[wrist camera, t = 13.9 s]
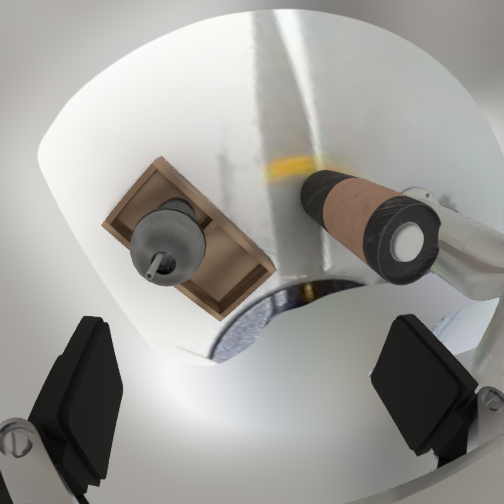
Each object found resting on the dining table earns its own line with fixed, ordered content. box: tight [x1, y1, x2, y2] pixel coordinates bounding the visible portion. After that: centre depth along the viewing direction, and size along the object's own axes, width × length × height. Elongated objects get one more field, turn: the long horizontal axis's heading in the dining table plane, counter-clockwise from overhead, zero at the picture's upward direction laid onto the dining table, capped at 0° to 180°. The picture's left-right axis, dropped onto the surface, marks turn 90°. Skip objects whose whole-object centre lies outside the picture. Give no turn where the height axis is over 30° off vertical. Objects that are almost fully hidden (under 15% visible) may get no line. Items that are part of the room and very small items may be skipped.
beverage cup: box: [130, 197, 207, 286], centre depth 29 cm, size 7×7×20 cm
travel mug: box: [301, 170, 442, 285], centre depth 32 cm, size 8×8×20 cm
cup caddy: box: [101, 156, 277, 322], centre depth 38 cm, size 20×11×4 cm, turn 44°
